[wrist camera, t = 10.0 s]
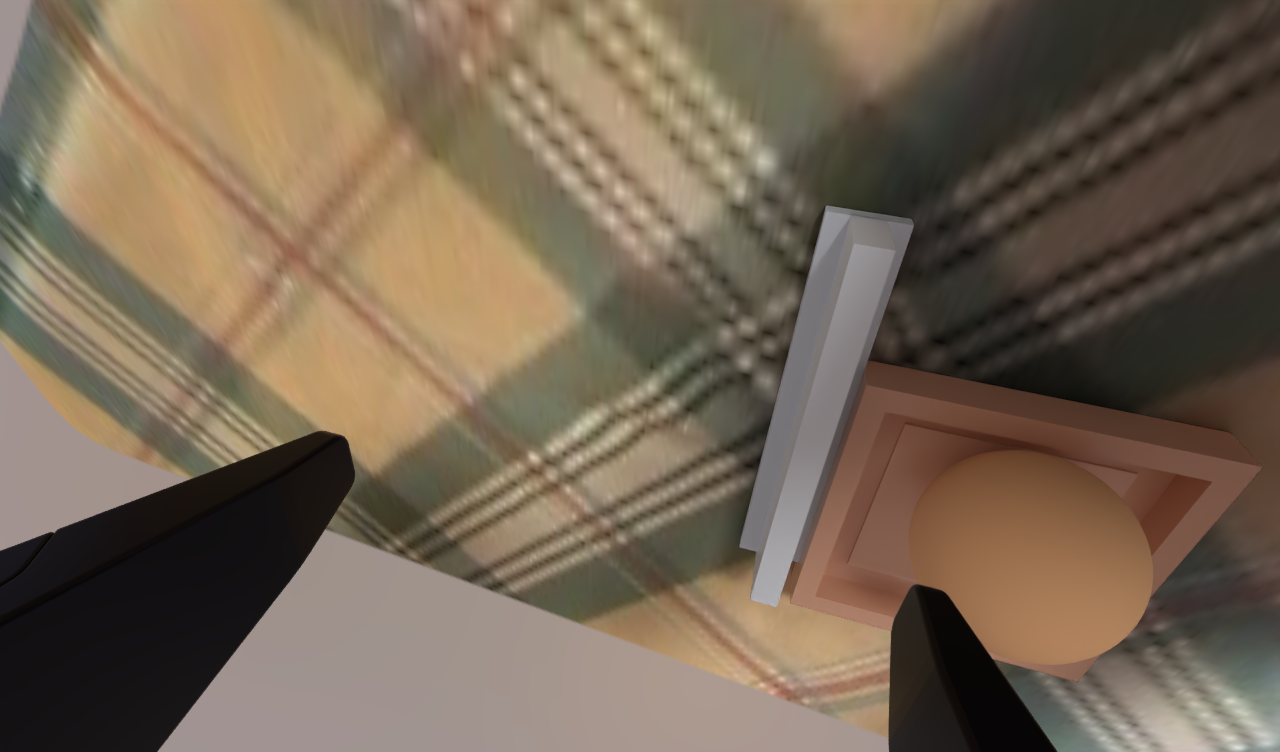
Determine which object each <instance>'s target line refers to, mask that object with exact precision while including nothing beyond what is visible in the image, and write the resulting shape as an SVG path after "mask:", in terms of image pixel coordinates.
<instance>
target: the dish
mask: <svg viewBox="0 0 1280 752" xmlns="http://www.w3.org/2000/svg"><path fill="white" fill-rule="evenodd" d="M1003 450H1026V451H1032V452H1039V453H1044V454H1048V455H1051V456H1055V457H1058V458H1061V459H1064V460H1066V461H1069V462H1071V463H1074V464H1076V465H1077V466H1079V467H1081V468H1083V469H1085V470H1087V471H1088V472H1090V473H1092V474H1094V475H1095V476H1096V477H1098V478H1099V479H1101V480H1102V481H1103V482H1105V483H1106V484H1107V485H1108V486H1109V487H1110V488H1111V489H1112V490H1114V491H1115V492H1116V493H1117V494H1118V495H1119V496H1120V497H1121V498H1122V499H1123V500H1124V502H1125V503H1126V504H1127V505H1128V506H1129V508H1130V509H1131V510H1132V512H1133V513H1134V515H1135V516H1136V518H1137V519H1138V521H1139V523H1140V525H1141V527H1142V529H1143V532H1144V534H1145V536H1146V538H1147V541H1148V544H1149V547H1150V550H1151V556H1152V561H1153V585H1152V592H1151V595H1150V597H1151V596H1152V595H1153V594H1154V593H1155V592H1156V590H1157V589H1158V588H1159V587H1160V586H1161V585H1162V583H1163V582H1164V581H1165V580H1166V579H1167V578H1168V577H1169V575H1170V574H1171V573H1172V572H1173V571H1174V570H1175V568H1176V567H1177V566H1178V565H1179V564H1180V563H1181V561H1182V560H1183V559H1184V558H1185V557H1186V556H1187V555H1188V553H1189V552H1190V551H1191V550H1192V549H1193V548H1194V546H1195V545H1196V544H1197V543H1198V542H1199V541H1200V539H1201V538H1202V537H1203V536H1204V535H1205V534H1206V533H1207V531H1208V530H1209V529H1210V528H1211V527H1212V526H1213V524H1214V523H1215V522H1216V521H1217V520H1218V519H1219V517H1220V516H1221V515H1222V514H1223V513H1224V512H1225V510H1226V509H1227V508H1228V507H1229V506H1230V505H1231V504H1232V502H1233V501H1234V500H1235V499H1236V498H1237V497H1238V495H1239V494H1240V493H1241V492H1242V491H1243V490H1244V488H1245V487H1246V486H1247V485H1248V484H1249V483H1250V482H1251V480H1252V479H1253V478H1254V477H1255V476H1256V475H1257V473H1258V472H1259V471H1260V470H1261V469H1262V468H1263V467H1262V466H1261V465H1260V464H1259V463H1258V461H1257V460H1256V459H1255V458H1254V457H1253V456H1252V455H1251V454H1250V453H1249V452H1248V451H1247V450H1246V449H1245V447H1244V446H1243V445H1242V444H1241V443H1240V442H1239V441H1238V440H1237V439H1236V438H1235V437H1234V436H1233V434H1232V433H1229V432H1224V431H1219V430H1214V429H1209V428H1204V427H1199V426H1194V425H1189V424H1184V423H1179V422H1174V421H1169V420H1164V419H1159V418H1154V417H1149V416H1144V415H1139V414H1134V413H1129V412H1124V411H1119V410H1114V409H1109V408H1104V407H1099V406H1094V405H1089V404H1084V403H1079V402H1074V401H1069V400H1064V399H1059V398H1054V397H1049V396H1044V395H1039V394H1034V393H1029V392H1024V391H1019V390H1014V389H1009V388H1004V387H999V386H994V385H989V384H984V383H979V382H974V381H969V380H964V379H959V378H955V377H950V376H945V375H940V374H935V373H930V372H925V371H920V370H915V369H910V368H905V367H900V366H895V365H890V364H885V363H880V362H875V361H870V360H868V361H867V364H866V367H865V370H864V373H863V376H862V379H861V382H860V385H859V388H858V391H857V393H856V396H855V399H854V402H853V405H852V408H851V411H850V414H849V417H848V420H847V423H846V425H845V428H844V431H843V434H842V437H841V440H840V443H839V446H838V449H837V452H836V455H835V458H834V460H833V463H832V466H831V469H830V472H829V475H828V478H827V481H826V484H825V487H824V490H823V492H822V495H821V498H820V501H819V504H818V507H817V510H816V513H815V516H814V519H813V522H812V525H811V527H810V530H809V533H808V536H807V539H806V542H805V545H804V548H803V551H802V554H801V557H800V559H799V562H798V563H797V562H795V565H794V568H793V571H792V580H791V595H790V604H794V605H798V606H801V607H805V608H809V609H812V610H816V611H820V612H823V613H827V614H831V615H834V616H838V617H841V618H845V619H849V620H852V621H856V622H860V623H863V624H867V625H871V626H874V627H878V628H882V629H885V630H889V631H891V630H892V625H893V621H894V618H895V616H896V614H897V612H898V610H899V608H900V606H901V604H902V602H903V600H904V598H905V596H906V594H907V592H908V590H909V589H910V587H911V586H913V585H914V584H918V581H917V579H916V577H915V574H914V570H913V567H912V563H911V559H910V552H909V530H910V523H911V519H912V516H913V512H914V510H915V507H916V505H917V503H918V501H919V499H920V497H921V496H922V494H923V492H924V491H925V489H926V488H927V487H928V486H929V485H930V483H931V482H932V481H933V480H934V479H935V478H936V477H938V476H939V475H940V474H941V473H942V472H944V471H945V470H946V469H948V468H949V467H951V466H952V465H954V464H956V463H958V462H960V461H962V460H964V459H967V458H969V457H972V456H975V455H978V454H982V453H987V452H991V451H1003ZM988 653H989V654H990V656H991V657H992V659H995V660H999V661H1002V662H1006V663H1010V664H1013V665H1017V666H1021V667H1024V668H1028V669H1032V670H1035V671H1039V672H1043V673H1046V674H1050V675H1054V676H1057V677H1061V678H1064V679H1068V680H1072V681H1075V682H1078V681H1079V680H1080V679H1081V677H1082V676H1083V675H1084V674H1085V673H1086V672H1087V670H1088V669H1089V668H1090V667H1091V666H1092V665H1093V663H1094V662H1095V661H1096V660H1097V659H1098V658H1099V657H1100V655H1101V654H1099V655H1097V656H1095V657H1092V658H1089V659H1086V660H1082V661H1079V662H1075V663H1069V664H1061V665H1042V664H1030V663H1024V662H1019V661H1014V660H1011V659H1008V658H1005V657H1002V656H999V655H996V654H994V653H991V652H989V651H988Z"/></svg>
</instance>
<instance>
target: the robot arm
mask: <svg viewBox="0 0 1280 752" xmlns="http://www.w3.org/2000/svg"><path fill="white" fill-rule="evenodd" d="M354 478H355V469H354V465H353V461H352V457H351V452H350V448H349V444H348V441H347V439H346V438H345V437H344V436H342V435H339V434H335V433H331V432H327V431H318V432H314V433H312V434H309V435H307V436H304V437H301V438H299V439H296V440H293V441H291V442H288V443H285V444H283V445H280V446H277V447H275V448H272V449H269V450H267V451H264V452H262V453H259V454H256V455H254V456H251V457H248V458H246V459H243V460H240V461H238V462H235V463H232V464H230V465H227V466H224V467H222V468H219V469H216V470H214V471H211V472H208V473H206V474H203V475H201V476H198V477H195V478H193V479H190V480H187V481H185V482H182V483H179V484H177V485H174V486H171V487H169V488H166V489H163V490H161V491H158V492H155V493H153V494H150V495H148V496H145V497H142V498H140V499H137V500H135V501H132V502H129V503H126V504H124V505H121V506H118V507H116V508H113V509H110V510H108V511H105V512H102V513H100V514H97V515H95V516H92V517H89V518H87V519H84V520H81V521H79V522H76V523H73V524H71V525H68V526H65V527H63V528H60V529H58V530H57V531H56V532H55V533H53V532H49V533H46V534H44V535H41V536H39V537H36V538H34V539H31V540H28V541H25V542H23V543H20V544H18V545H15V546H12V547H10V548H7V549H4V550H1V551H0V752H158V750H159V749H160V748H161V746H162V745H163V744H164V743H165V741H166V740H167V739H168V737H169V736H170V735H171V734H172V732H173V731H174V730H175V729H176V727H177V726H178V725H179V723H180V722H181V721H182V719H183V718H184V717H185V716H186V714H187V713H188V712H189V710H190V709H191V708H192V706H193V705H194V704H195V703H196V701H197V700H198V699H199V697H200V696H201V695H202V694H203V692H204V691H205V690H206V688H207V687H208V686H209V685H210V683H211V682H212V681H213V680H214V678H215V677H216V675H217V674H218V673H219V672H220V671H221V669H222V668H223V667H224V665H225V664H226V663H227V661H228V660H229V659H230V658H231V656H232V655H233V654H234V652H235V651H236V650H237V648H238V647H239V646H240V645H241V643H242V642H243V641H244V639H245V638H246V637H247V635H248V634H249V633H250V632H251V631H252V629H253V628H254V627H255V625H256V624H257V623H258V622H259V620H260V619H261V618H262V616H263V615H264V614H265V612H266V611H267V610H268V608H269V607H270V606H271V605H272V603H273V602H274V601H275V599H276V598H277V597H278V596H279V594H280V593H281V592H282V590H283V589H284V588H285V587H286V585H287V584H288V583H289V582H290V580H291V579H292V578H293V576H294V575H295V574H296V572H297V571H298V570H299V568H300V567H301V565H302V564H303V563H304V561H305V560H306V558H307V556H308V555H309V554H310V552H311V551H312V549H313V547H314V546H315V544H316V543H317V541H318V540H319V538H320V536H321V535H322V533H323V532H324V530H325V528H326V527H327V525H328V524H329V522H330V521H331V519H332V517H333V516H334V514H335V513H336V511H337V509H338V508H339V506H340V505H341V503H342V501H343V500H344V498H345V497H346V495H347V494H348V492H349V490H350V489H351V487H352V485H353V482H354ZM889 752H1057V750H1056V749H1055V747H1054V746H1053V745H1052V743H1051V742H1050V740H1049V739H1048V737H1047V736H1046V735H1045V733H1044V732H1043V730H1042V729H1041V727H1040V726H1039V725H1038V723H1037V722H1036V720H1035V719H1034V717H1033V716H1032V714H1031V713H1030V712H1029V710H1028V709H1027V707H1026V706H1025V704H1024V703H1023V702H1022V700H1021V699H1020V697H1019V696H1018V694H1017V693H1016V692H1015V690H1014V689H1013V687H1012V686H1011V684H1010V683H1009V682H1008V680H1007V679H1006V677H1005V676H1004V674H1003V673H1002V671H1001V670H1000V669H999V667H998V666H997V664H996V663H995V661H994V660H993V659H992V657H991V656H990V654H989V653H988V651H987V650H986V649H985V647H984V646H983V644H982V643H981V641H980V640H979V639H978V637H977V636H976V634H975V633H974V631H973V630H972V629H971V627H970V626H969V624H968V623H967V621H966V620H965V618H964V617H963V616H962V614H961V613H960V611H959V610H958V608H957V607H956V606H955V604H954V603H953V601H952V600H951V598H950V597H949V596H948V595H947V594H946V593H945V592H944V591H942V590H940V589H936V588H932V587H928V586H924V585H920V584H914V585H913V586H911V587H910V589H909V590H908V592H907V594H906V596H905V598H904V600H903V602H902V604H901V606H900V608H899V610H898V612H897V614H896V616H895V618H894V621H893V625H892V630H891V654H890V692H889Z"/></svg>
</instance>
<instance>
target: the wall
mask: <svg viewBox="0 0 1280 752" xmlns="http://www.w3.org/2000/svg"><path fill="white" fill-rule="evenodd" d="M913 227H914V224H913V221H912V219H909V218H903V217H896V216H890V215H884V214H877V213H871V212H865V211H859V210H852V209H846V208H840V207H834V206H827V205H826V207H825V211H824V215H823V219H822V223H821V226H820V230H819V234H818V238H817V242H816V246H815V250H814V254H813V258H812V262H811V266H810V269H809V273H808V277H807V281H806V285H805V289H804V293H803V297H802V301H801V305H800V308H799V312H798V316H797V320H796V324H795V328H794V332H793V336H792V340H791V344H790V348H789V351H788V355H787V359H786V363H785V367H784V371H783V375H782V379H781V383H780V387H779V390H778V394H777V398H776V402H775V406H774V410H773V414H772V418H771V422H770V426H769V429H768V433H767V437H766V441H765V445H764V449H763V453H762V457H761V461H760V465H759V469H758V472H757V476H756V480H755V484H754V488H753V492H752V496H751V500H750V504H749V508H748V511H747V515H746V519H745V523H744V527H743V531H742V535H741V540H740V546H739V547H740V548H744V549H748V550H752V551H755V552H756V558H755V565H754V573H753V580H752V588H751V595H750V600H753V601H756V602H760V603H763V604H767V605H771V606H774V607H777V605H778V602H779V599H780V596H781V593H782V590H783V587H784V584H785V581H786V578H787V575H788V572H789V569H790V566H791V563H792V561H794V562H797V563H798V562H799V559H800V557H801V554H802V551H803V548H804V545H805V542H806V539H807V536H808V533H809V530H810V527H811V525H812V522H813V519H814V516H815V513H816V510H817V507H818V504H819V501H820V498H821V495H822V492H823V490H824V487H825V484H826V481H827V478H828V475H829V472H830V469H831V466H832V463H833V460H834V458H835V455H836V452H837V449H838V446H839V443H840V440H841V437H842V434H843V431H844V428H845V425H846V423H847V420H848V417H849V414H850V411H851V408H852V405H853V402H854V399H855V396H856V393H857V391H858V388H859V385H860V382H861V379H862V376H863V373H864V370H865V367H866V364H867V361H868V358H869V356H870V353H871V350H872V347H873V344H874V341H875V338H876V335H877V332H878V329H879V326H880V324H881V321H882V318H883V315H884V312H885V309H886V306H887V303H888V300H889V297H890V294H891V291H892V289H893V286H894V283H895V280H896V277H897V274H898V271H899V268H900V265H901V262H902V259H903V256H904V254H905V251H906V248H907V245H908V242H909V239H910V236H911V233H912V230H913Z"/></svg>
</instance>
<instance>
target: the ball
mask: <svg viewBox="0 0 1280 752" xmlns="http://www.w3.org/2000/svg"><path fill="white" fill-rule="evenodd" d="M909 552H910V559H911V563H912V567H913V570H914V574H915V577H916V579H917V581H918V584H920V585H924V586H928V587H932V588H936V589H940V590H942V591H944V592H945V593H946V594H947V595H948V596H949V597H950V598H951V600H952V601H953V603H954V604H955V606H956V607H957V608H958V610H959V611H960V613H961V614H962V616H963V617H964V618H965V620H966V621H967V623H968V624H969V626H970V627H971V629H972V630H973V631H974V633H975V634H976V636H977V637H978V639H979V640H980V641H981V643H982V644H983V646H984V647H985V649H986V650H987V651H989V652H991V653H994V654H996V655H999V656H1002V657H1005V658H1008V659H1011V660H1014V661H1019V662H1024V663H1030V664H1042V665H1061V664H1069V663H1075V662H1079V661H1082V660H1086V659H1089V658H1092V657H1095V656H1097V655H1099V654H1102V653H1104V652H1106V651H1108V650H1109V649H1111V648H1112V647H1114V646H1116V645H1117V644H1119V643H1120V642H1121V641H1122V640H1123V639H1124V638H1125V637H1127V636H1128V635H1129V634H1130V632H1131V631H1132V630H1133V629H1134V628H1135V627H1136V625H1137V624H1138V622H1139V621H1140V619H1141V618H1142V616H1143V614H1144V612H1145V610H1146V607H1147V605H1148V603H1149V599H1150V595H1151V592H1152V585H1153V561H1152V556H1151V550H1150V547H1149V544H1148V541H1147V538H1146V536H1145V534H1144V532H1143V529H1142V527H1141V525H1140V523H1139V521H1138V519H1137V518H1136V516H1135V515H1134V513H1133V512H1132V510H1131V509H1130V508H1129V506H1128V505H1127V504H1126V503H1125V502H1124V500H1123V499H1122V498H1121V497H1120V496H1119V495H1118V494H1117V493H1116V492H1115V491H1114V490H1112V489H1111V488H1110V487H1109V486H1108V485H1107V484H1106V483H1105V482H1103V481H1102V480H1101V479H1099V478H1098V477H1096V476H1095V475H1094V474H1092V473H1090V472H1088V471H1087V470H1085V469H1083V468H1081V467H1079V466H1077V465H1076V464H1074V463H1071V462H1069V461H1066V460H1064V459H1061V458H1058V457H1055V456H1051V455H1048V454H1044V453H1039V452H1032V451H1026V450H1003V451H991V452H987V453H982V454H978V455H975V456H972V457H969V458H967V459H964V460H962V461H960V462H958V463H956V464H954V465H952V466H951V467H949V468H948V469H946V470H945V471H944V472H942V473H941V474H940V475H939V476H938V477H936V478H935V479H934V480H933V481H932V482H931V483H930V485H929V486H928V487H927V488H926V489H925V491H924V492H923V494H922V496H921V497H920V499H919V501H918V503H917V505H916V507H915V510H914V512H913V516H912V519H911V523H910V530H909Z"/></svg>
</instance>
